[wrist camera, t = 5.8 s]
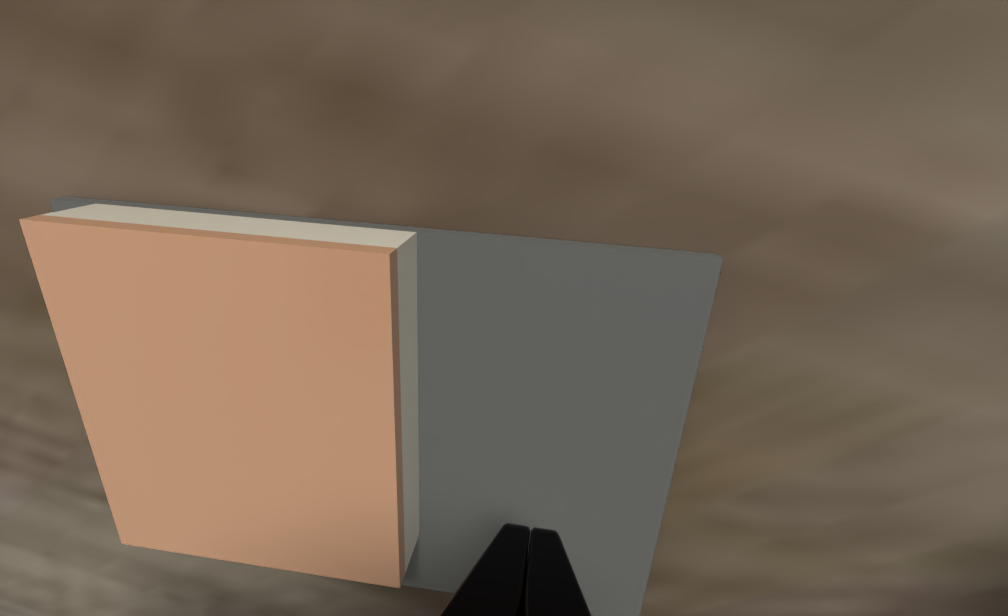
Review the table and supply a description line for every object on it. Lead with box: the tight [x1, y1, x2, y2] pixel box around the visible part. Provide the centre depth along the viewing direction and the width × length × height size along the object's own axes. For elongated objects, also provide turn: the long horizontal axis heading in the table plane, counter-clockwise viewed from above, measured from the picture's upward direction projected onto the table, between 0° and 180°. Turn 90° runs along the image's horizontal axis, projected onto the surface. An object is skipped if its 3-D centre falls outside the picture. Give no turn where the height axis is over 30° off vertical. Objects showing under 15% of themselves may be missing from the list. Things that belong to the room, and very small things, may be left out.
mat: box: [50, 196, 723, 616], centre depth 12 cm, size 14×10×1 cm
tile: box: [19, 204, 420, 588], centre depth 11 cm, size 2×8×7 cm
